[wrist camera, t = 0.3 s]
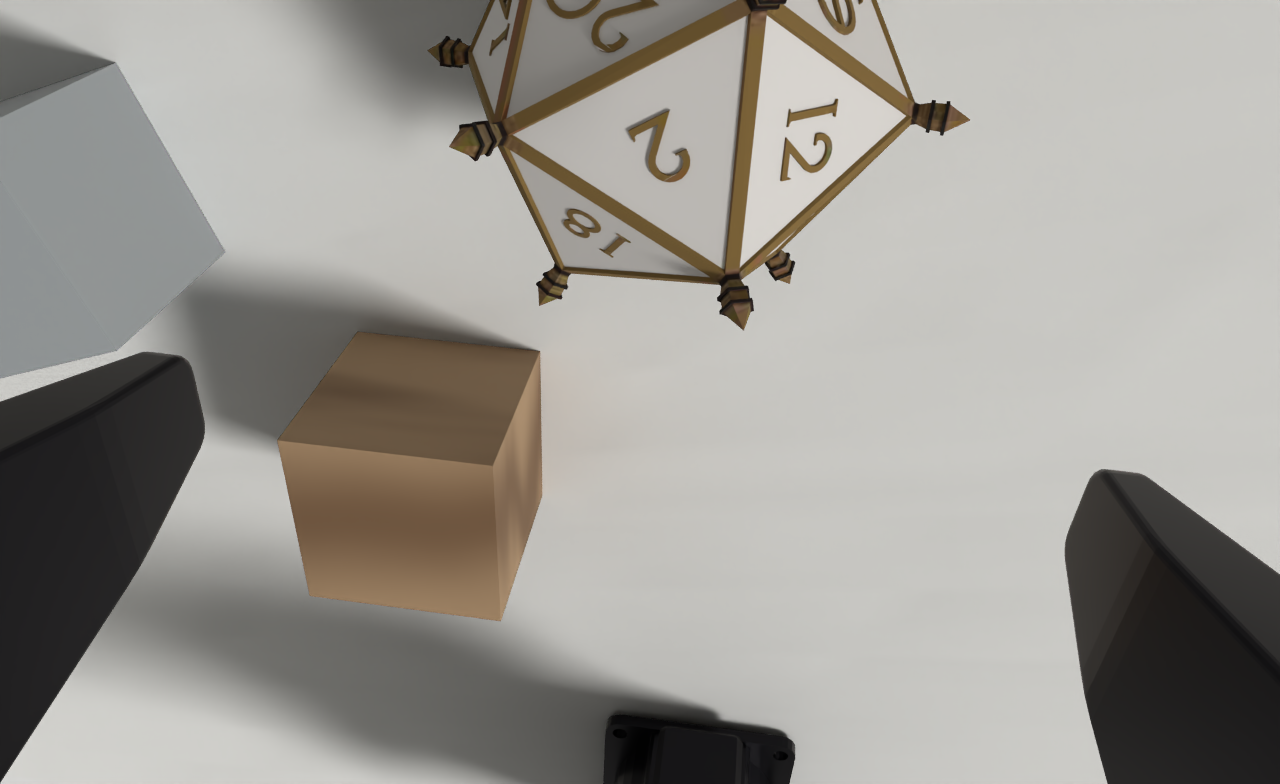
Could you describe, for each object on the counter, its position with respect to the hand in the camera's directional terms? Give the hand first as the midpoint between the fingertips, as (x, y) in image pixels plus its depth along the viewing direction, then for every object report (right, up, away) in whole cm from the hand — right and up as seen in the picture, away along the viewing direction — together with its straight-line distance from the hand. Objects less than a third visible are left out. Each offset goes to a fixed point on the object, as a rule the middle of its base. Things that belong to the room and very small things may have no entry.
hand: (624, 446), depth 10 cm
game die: (+1, +8, +11) cm, 14 cm away
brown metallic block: (-5, 0, +18) cm, 18 cm away
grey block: (-14, +6, +15) cm, 21 cm away
